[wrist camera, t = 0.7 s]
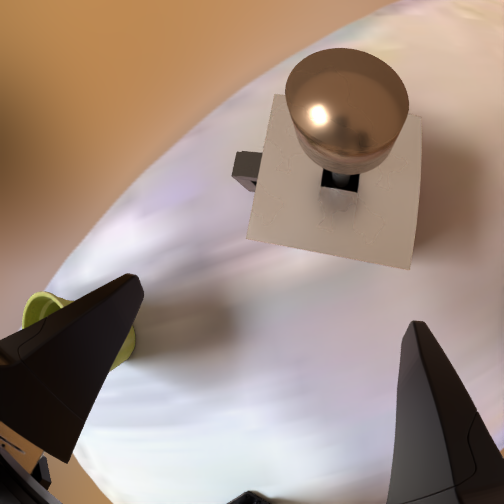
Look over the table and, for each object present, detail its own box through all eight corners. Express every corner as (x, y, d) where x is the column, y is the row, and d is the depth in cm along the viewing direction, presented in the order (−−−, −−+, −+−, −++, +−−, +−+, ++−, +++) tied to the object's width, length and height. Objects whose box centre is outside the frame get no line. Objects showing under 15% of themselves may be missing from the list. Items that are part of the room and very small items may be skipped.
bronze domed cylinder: (367, 215, 15) (408, 160, 6) (305, 204, 16) (275, 138, 7) (373, 156, 15) (406, 59, 6) (314, 146, 16) (293, 43, 7)
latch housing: (384, 267, 20) (409, 270, 13) (246, 241, 23) (211, 232, 16) (398, 156, 20) (421, 116, 13) (267, 136, 23) (242, 93, 16)
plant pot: (140, 280, 25) (70, 285, 17) (160, 378, 25) (100, 413, 16) (78, 291, 28) (15, 296, 19) (95, 373, 27) (37, 395, 19)
